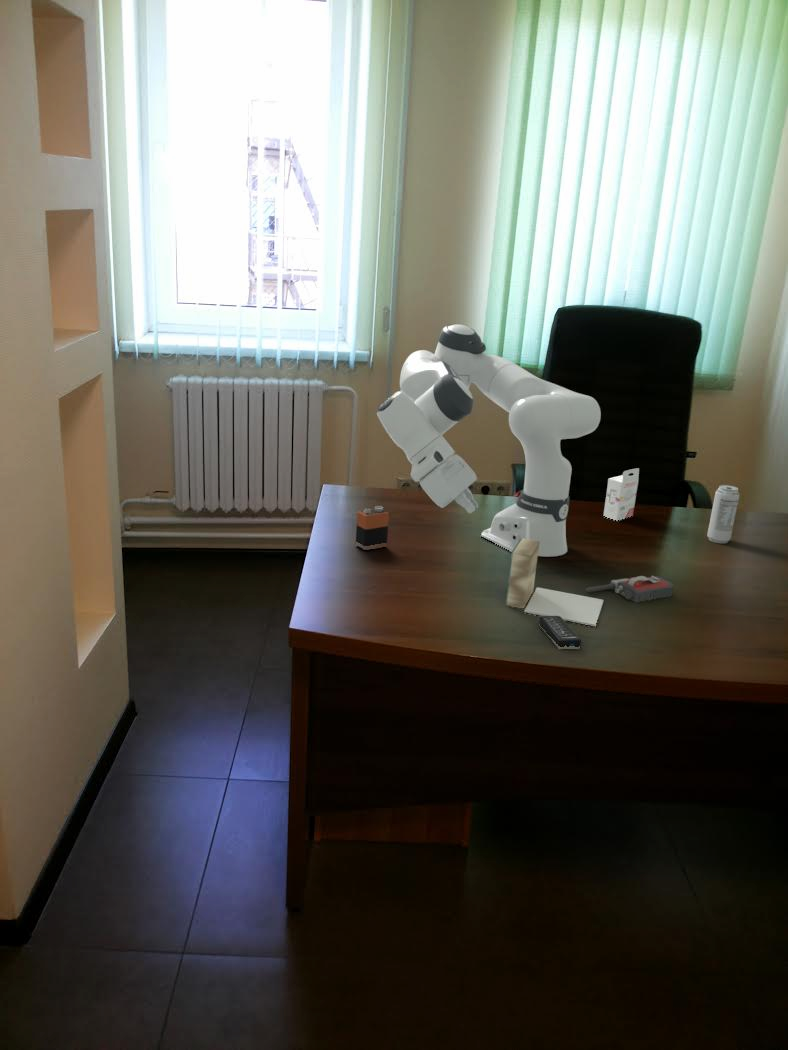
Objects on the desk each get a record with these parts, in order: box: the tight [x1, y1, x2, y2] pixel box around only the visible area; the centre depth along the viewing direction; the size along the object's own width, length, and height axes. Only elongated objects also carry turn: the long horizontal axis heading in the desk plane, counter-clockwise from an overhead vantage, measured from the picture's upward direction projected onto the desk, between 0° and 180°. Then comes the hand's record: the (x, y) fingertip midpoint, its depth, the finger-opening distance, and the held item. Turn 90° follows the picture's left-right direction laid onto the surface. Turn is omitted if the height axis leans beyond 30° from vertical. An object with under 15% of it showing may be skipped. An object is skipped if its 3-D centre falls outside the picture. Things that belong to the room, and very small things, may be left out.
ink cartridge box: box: [603, 467, 640, 522], centre depth 238 cm, size 9×5×15 cm, turn 132°
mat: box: [523, 586, 604, 628], centre depth 175 cm, size 14×14×1 cm
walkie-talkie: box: [585, 575, 674, 603], centre depth 184 cm, size 9×4×20 cm
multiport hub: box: [538, 616, 582, 647], centre depth 161 cm, size 4×11×2 cm, turn 12°
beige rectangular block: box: [504, 538, 540, 609], centre depth 176 cm, size 4×10×12 cm, turn 160°
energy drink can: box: [706, 484, 740, 544], centre depth 223 cm, size 6×6×15 cm
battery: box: [355, 505, 390, 546], centre depth 201 cm, size 4×7×10 cm, turn 126°
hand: (474, 510), depth 176 cm, fingers closed
